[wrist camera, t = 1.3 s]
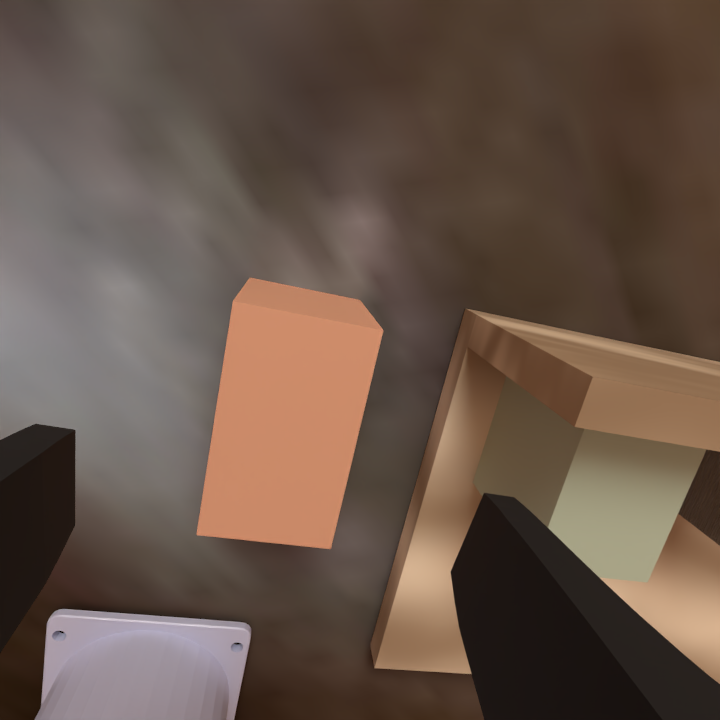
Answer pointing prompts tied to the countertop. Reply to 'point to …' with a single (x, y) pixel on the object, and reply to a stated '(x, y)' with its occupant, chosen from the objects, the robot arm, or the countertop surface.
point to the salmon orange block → (287, 414)
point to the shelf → (582, 410)
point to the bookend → (705, 497)
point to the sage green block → (587, 483)
